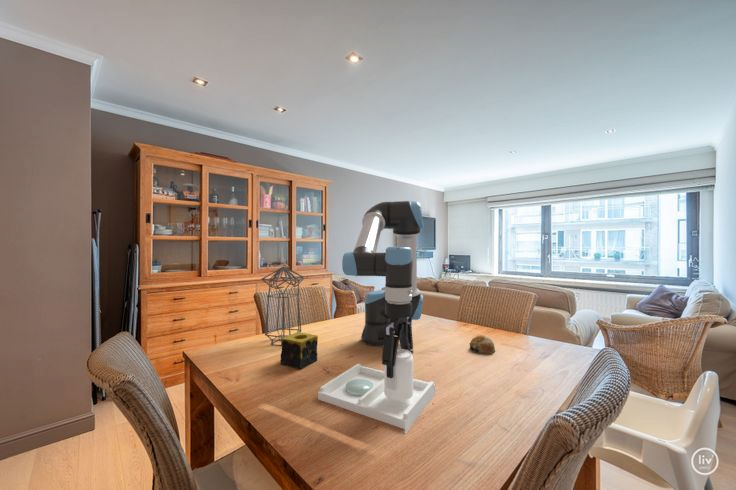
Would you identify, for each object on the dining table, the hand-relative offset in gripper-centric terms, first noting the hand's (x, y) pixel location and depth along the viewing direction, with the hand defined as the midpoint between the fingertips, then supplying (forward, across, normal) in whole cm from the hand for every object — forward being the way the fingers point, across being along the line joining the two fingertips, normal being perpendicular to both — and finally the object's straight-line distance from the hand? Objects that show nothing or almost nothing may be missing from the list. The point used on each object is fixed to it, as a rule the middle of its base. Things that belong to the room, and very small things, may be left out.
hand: (398, 381), depth 85 cm
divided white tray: (+6, 0, +6) cm, 9 cm away
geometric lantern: (+7, +22, +68) cm, 72 cm away
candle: (+7, +8, +46) cm, 47 cm away
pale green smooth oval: (+5, 0, +13) cm, 14 cm away
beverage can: (+4, 0, 0) cm, 4 cm away
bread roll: (+7, +58, -12) cm, 60 cm away
